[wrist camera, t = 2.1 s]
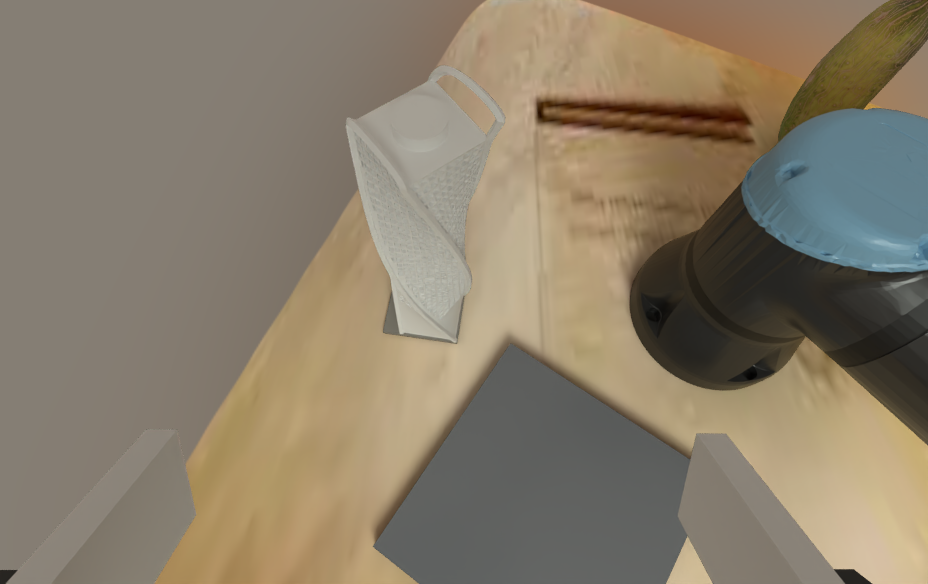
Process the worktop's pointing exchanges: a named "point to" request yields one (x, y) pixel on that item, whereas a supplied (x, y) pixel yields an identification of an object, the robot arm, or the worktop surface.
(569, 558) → the charcoal board
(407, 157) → the skyscraper
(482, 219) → the worktop surface
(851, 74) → the vegetable
